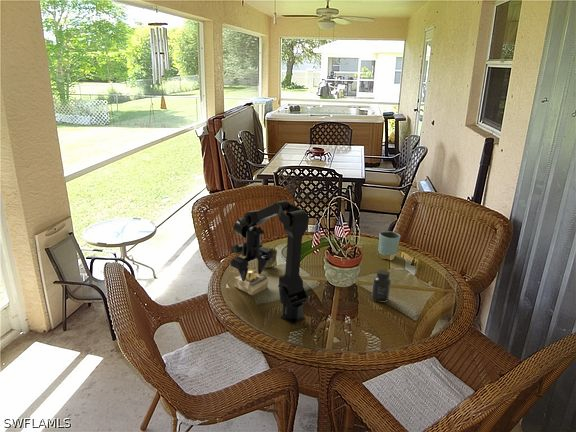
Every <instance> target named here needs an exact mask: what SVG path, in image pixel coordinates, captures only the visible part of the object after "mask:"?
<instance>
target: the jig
mask: <svg viewBox="0 0 576 432" xmlns="http://www.w3.org/2000/svg"><path fill="white" fill-rule="evenodd" d="M246 278H247V275H246ZM234 287H235V288H237V289H239V290H241V291H242V292H244V293H246V294H248V295H250V296H254V295H256V294H258V293H260V292H262V291H264V290H266V289H268V287H269V279H268V276H266V275H264V276H262V274H259V273H257V277H256V280H255V281H253V282H249V281H247V280H246V279H245V281H242V279H241V276H240V275H238V276H234Z"/></svg>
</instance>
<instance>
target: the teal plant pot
mask: <svg viewBox="0 0 576 432" xmlns="http://www.w3.org/2000/svg"><path fill="white" fill-rule="evenodd" d="M378 236H379V238H378V239H379V240H378V249H377V252H378V251H379V253H380V254H382V255H393V254H395V253H396V254H397V252H396V251H398V248H399V242H400V240H401V235H400V234H399V233H397V232H394V231H390V230H384V231H380V232H379V234H378Z"/></svg>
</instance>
